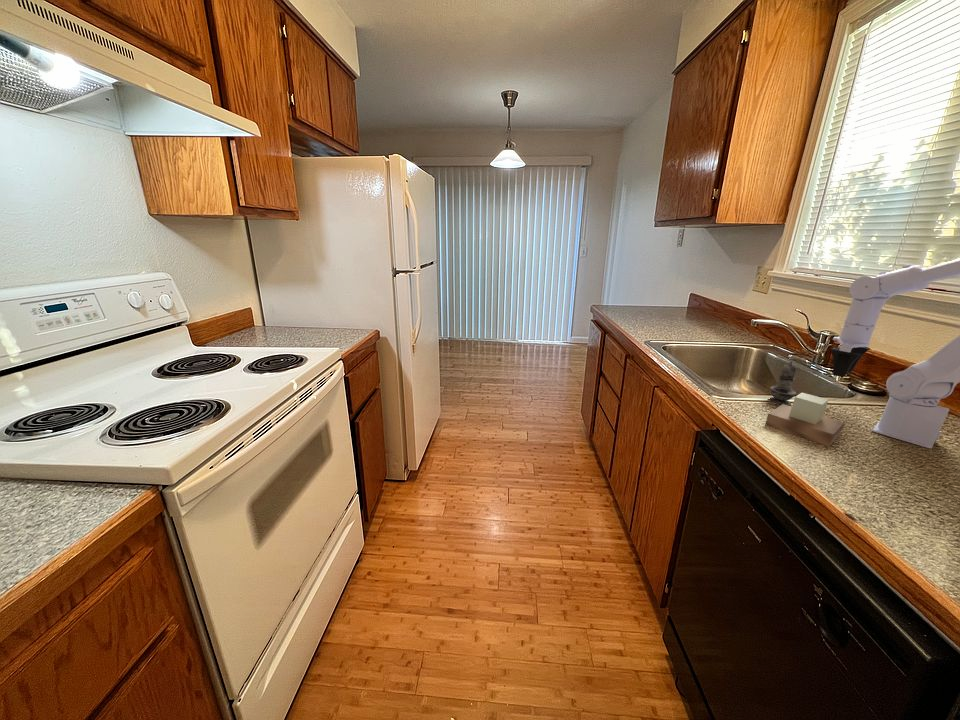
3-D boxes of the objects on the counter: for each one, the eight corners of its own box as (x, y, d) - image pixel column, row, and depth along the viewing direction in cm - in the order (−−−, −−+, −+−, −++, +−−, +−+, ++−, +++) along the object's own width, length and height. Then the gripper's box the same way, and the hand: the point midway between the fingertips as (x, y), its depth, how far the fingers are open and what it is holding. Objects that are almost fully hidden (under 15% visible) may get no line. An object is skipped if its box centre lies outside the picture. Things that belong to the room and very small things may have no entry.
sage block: (821, 419, 89) (828, 399, 88) (815, 424, 86) (822, 404, 85) (795, 411, 93) (801, 392, 91) (789, 416, 90) (795, 396, 89)
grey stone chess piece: (783, 398, 108) (795, 358, 105) (797, 407, 103) (811, 365, 99) (761, 397, 109) (773, 357, 105) (774, 405, 103) (787, 364, 100)
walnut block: (840, 434, 89) (844, 422, 88) (828, 446, 83) (833, 434, 82) (779, 414, 98) (782, 404, 97) (765, 424, 92) (768, 413, 91)
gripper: (846, 318, 105) (830, 364, 109) (831, 323, 96) (815, 373, 101) (881, 323, 99) (863, 371, 104) (869, 329, 91) (850, 382, 95)
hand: (842, 373), depth 102 cm, fingers open, 7 cm apart
